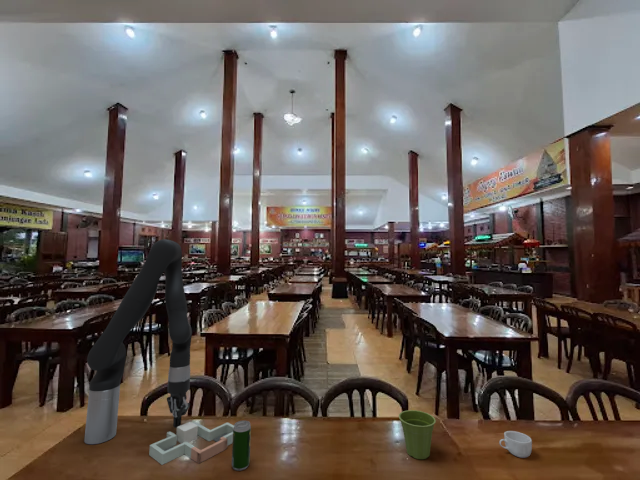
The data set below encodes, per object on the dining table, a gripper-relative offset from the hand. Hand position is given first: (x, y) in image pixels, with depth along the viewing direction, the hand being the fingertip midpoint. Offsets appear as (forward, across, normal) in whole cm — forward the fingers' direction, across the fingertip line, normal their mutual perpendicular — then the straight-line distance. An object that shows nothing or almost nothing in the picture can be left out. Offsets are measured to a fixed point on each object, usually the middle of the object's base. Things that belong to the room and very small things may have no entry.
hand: (177, 426), depth 112 cm
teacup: (+4, +100, +63) cm, 118 cm away
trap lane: (+2, +13, 0) cm, 13 cm away
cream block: (+2, +7, 0) cm, 7 cm away
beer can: (+3, +34, +2) cm, 34 cm away
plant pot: (+4, +75, +42) cm, 86 cm away
